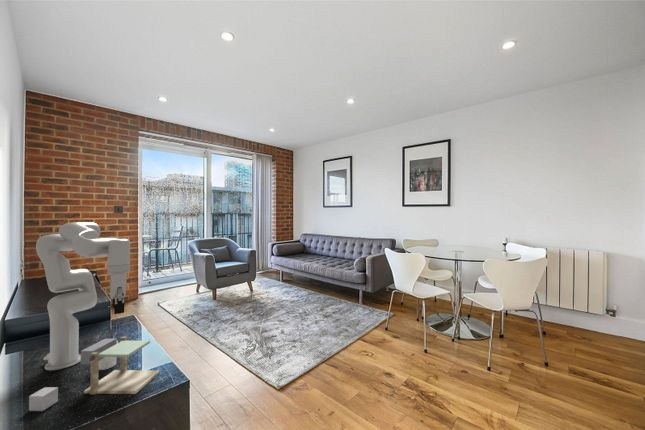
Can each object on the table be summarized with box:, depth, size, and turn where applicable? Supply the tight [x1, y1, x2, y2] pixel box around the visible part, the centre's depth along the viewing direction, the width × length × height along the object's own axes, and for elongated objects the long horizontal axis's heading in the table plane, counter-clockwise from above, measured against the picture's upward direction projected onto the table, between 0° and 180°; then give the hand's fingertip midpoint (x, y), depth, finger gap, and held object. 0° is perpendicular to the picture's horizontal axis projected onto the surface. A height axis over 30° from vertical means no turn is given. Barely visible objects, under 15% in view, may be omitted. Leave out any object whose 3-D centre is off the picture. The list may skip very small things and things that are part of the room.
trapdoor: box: [80, 338, 151, 365], centre depth 108 cm, size 19×12×5 cm, turn 87°
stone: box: [28, 386, 59, 412], centre depth 94 cm, size 5×5×5 cm
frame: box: [83, 336, 161, 395], centre depth 107 cm, size 20×17×15 cm
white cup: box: [99, 340, 119, 371], centre depth 120 cm, size 8×8×10 cm
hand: (118, 310), depth 110 cm, fingers open, 9 cm apart
